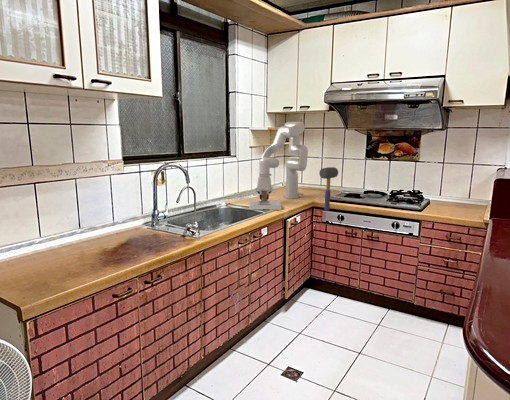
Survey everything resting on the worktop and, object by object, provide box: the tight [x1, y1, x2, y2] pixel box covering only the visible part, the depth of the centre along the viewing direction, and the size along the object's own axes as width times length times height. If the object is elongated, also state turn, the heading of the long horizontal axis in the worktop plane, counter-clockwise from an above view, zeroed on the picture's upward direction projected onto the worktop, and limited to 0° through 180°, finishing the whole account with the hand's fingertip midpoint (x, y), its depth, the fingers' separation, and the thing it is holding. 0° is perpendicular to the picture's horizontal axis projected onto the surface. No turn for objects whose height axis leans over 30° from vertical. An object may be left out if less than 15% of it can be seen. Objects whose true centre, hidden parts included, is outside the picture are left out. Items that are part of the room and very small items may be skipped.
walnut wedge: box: [260, 191, 268, 201], centre depth 268 cm, size 4×4×9 cm
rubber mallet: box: [318, 166, 339, 212], centre depth 244 cm, size 12×8×30 cm, turn 129°
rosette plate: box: [248, 200, 282, 211], centre depth 255 cm, size 22×14×3 cm, turn 92°
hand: (264, 199), depth 269 cm, fingers closed on walnut wedge, 4 cm apart
